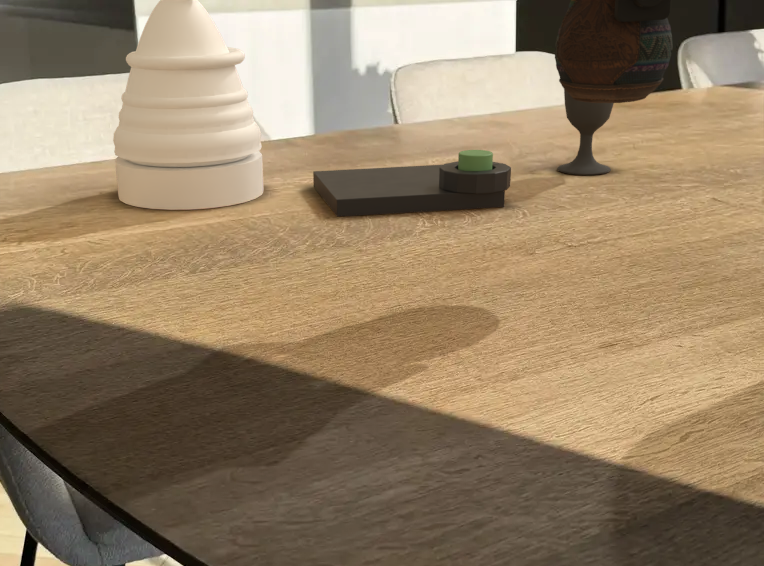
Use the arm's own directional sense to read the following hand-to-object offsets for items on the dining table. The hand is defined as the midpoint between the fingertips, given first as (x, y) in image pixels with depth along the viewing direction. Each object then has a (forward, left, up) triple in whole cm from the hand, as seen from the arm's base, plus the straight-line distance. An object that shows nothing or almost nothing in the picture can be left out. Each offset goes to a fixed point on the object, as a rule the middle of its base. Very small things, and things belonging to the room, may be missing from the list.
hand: (617, 14), depth 69 cm
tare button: (+3, -20, -13) cm, 24 cm away
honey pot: (+26, -30, -16) cm, 43 cm away
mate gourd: (0, 0, -5) cm, 5 cm away
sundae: (-11, -31, -16) cm, 37 cm away
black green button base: (+8, -24, -16) cm, 30 cm away
